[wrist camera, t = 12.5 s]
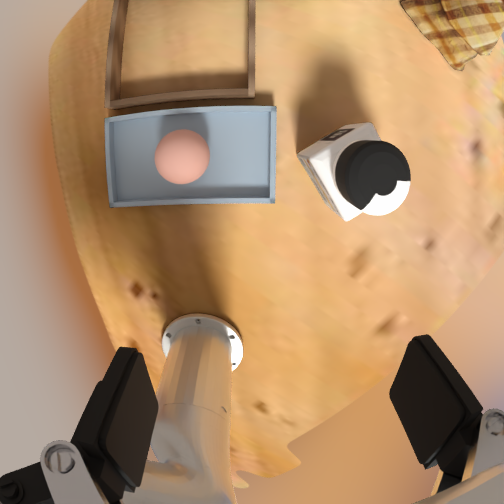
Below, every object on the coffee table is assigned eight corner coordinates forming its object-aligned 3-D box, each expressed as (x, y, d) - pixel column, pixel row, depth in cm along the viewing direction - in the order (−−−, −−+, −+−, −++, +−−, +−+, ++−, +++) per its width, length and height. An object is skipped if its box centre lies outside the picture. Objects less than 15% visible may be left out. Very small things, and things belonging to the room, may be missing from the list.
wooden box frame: (253, 98, 30) (254, 94, 28) (114, 109, 30) (104, 107, 27) (254, -23, 24) (255, -34, 21) (125, -8, 23) (117, -16, 20)
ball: (213, 179, 33) (206, 187, 28) (164, 181, 33) (148, 189, 27) (212, 129, 31) (205, 126, 25) (162, 132, 31) (145, 130, 25)
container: (295, 154, 33) (323, 161, 21) (346, 123, 32) (397, 118, 20) (326, 206, 36) (365, 241, 24) (374, 176, 34) (431, 196, 22)
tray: (273, 199, 35) (274, 203, 33) (116, 203, 35) (109, 207, 33) (274, 108, 31) (276, 106, 29) (112, 119, 30) (104, 118, 28)
